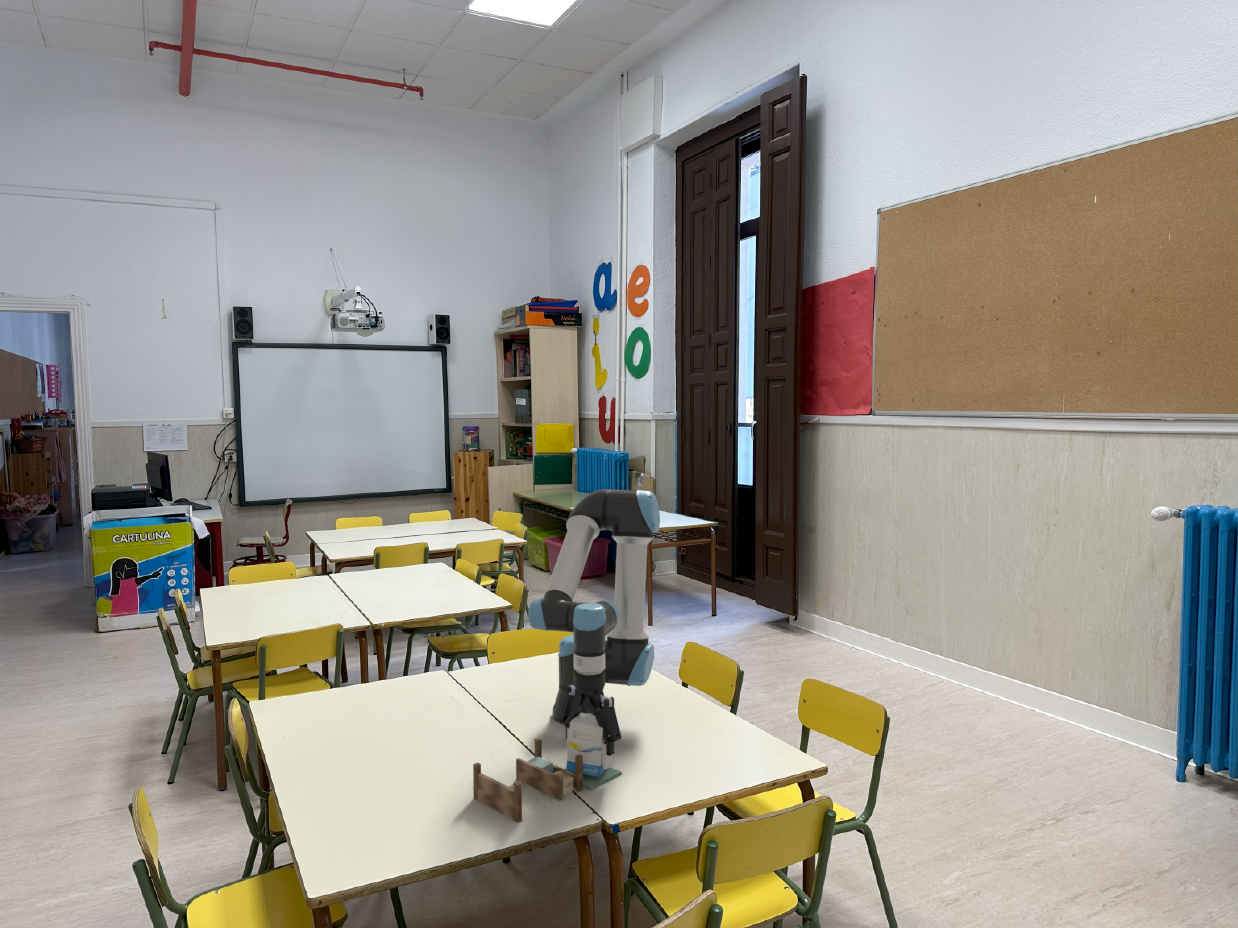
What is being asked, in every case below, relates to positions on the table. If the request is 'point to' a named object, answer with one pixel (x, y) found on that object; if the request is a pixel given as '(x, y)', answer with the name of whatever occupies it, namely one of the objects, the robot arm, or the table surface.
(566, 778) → the offcut
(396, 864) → the table surface
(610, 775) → the mat
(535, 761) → the offcut
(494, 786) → the rack
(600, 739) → the ink box
